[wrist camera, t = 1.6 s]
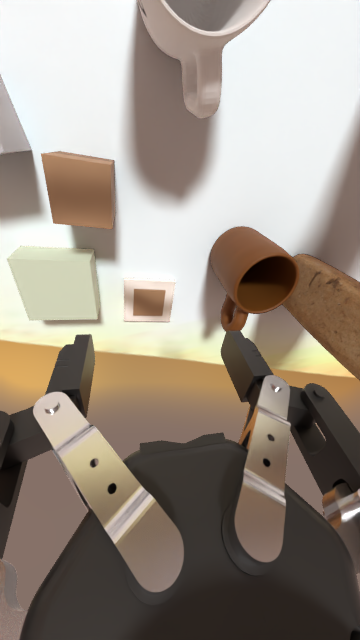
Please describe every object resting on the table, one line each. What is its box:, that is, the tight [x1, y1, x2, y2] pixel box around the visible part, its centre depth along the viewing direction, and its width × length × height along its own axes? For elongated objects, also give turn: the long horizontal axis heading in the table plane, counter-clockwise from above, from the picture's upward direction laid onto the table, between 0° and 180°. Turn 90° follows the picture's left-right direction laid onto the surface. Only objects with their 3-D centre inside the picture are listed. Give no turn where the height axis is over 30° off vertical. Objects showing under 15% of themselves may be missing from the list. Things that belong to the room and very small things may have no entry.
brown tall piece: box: [283, 254, 360, 380], centre depth 28 cm, size 11×8×20 cm
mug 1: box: [137, 0, 271, 118], centre depth 14 cm, size 11×8×10 cm
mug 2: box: [210, 226, 299, 332], centre depth 29 cm, size 12×8×9 cm, turn 161°
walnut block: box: [41, 151, 115, 229], centre depth 21 cm, size 5×5×6 cm
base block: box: [7, 246, 100, 320], centre depth 28 cm, size 8×8×4 cm
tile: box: [124, 278, 175, 322], centre depth 33 cm, size 7×7×1 cm
